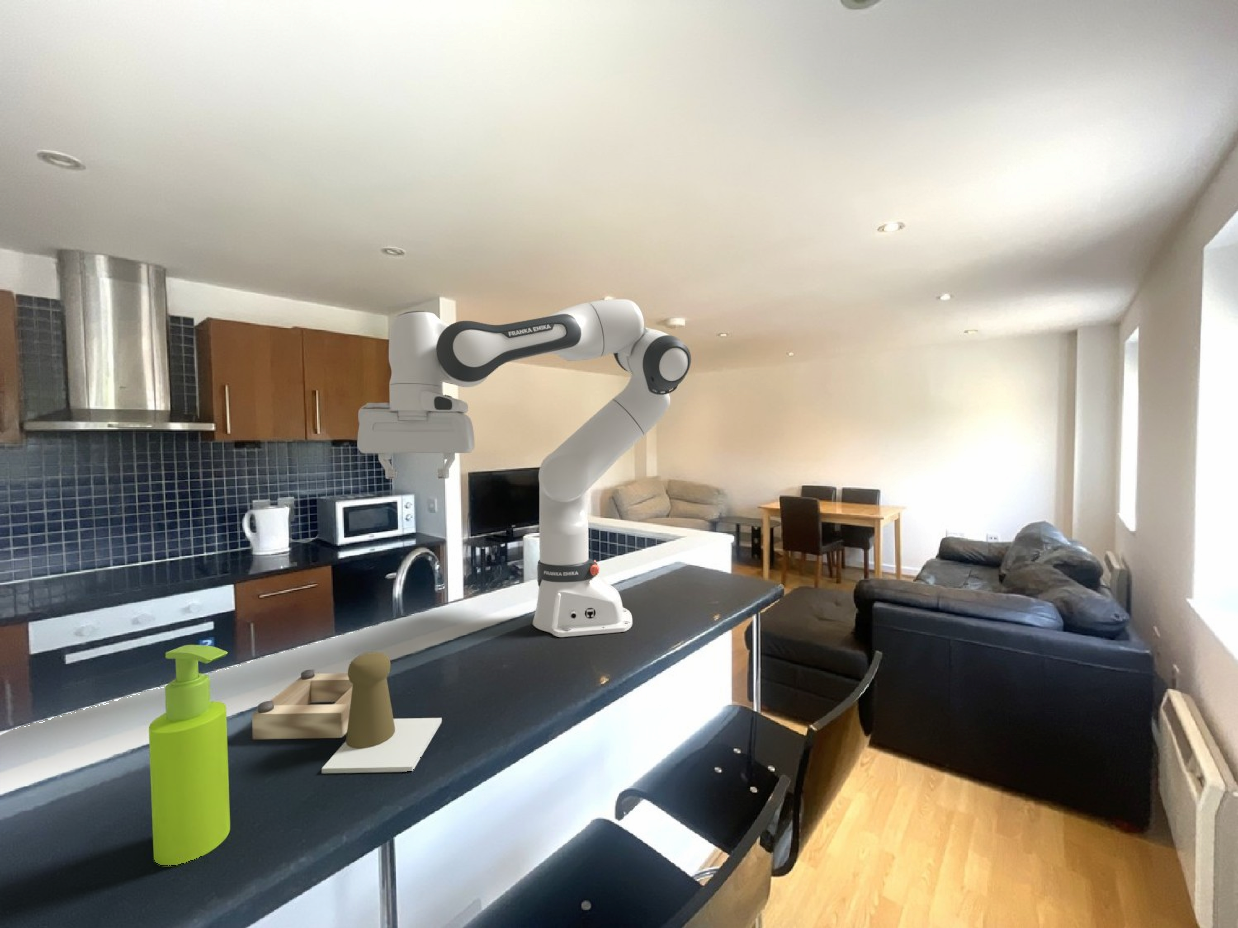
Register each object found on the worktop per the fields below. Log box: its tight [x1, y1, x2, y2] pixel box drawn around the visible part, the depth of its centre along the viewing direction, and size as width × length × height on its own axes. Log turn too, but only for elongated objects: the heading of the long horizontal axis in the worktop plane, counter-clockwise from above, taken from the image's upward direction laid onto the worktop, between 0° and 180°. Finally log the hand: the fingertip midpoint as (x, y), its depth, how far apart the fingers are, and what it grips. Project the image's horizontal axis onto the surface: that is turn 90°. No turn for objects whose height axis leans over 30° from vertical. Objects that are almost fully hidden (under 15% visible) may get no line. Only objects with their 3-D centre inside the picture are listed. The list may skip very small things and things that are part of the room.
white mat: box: [321, 717, 443, 774], centre depth 67 cm, size 11×11×1 cm
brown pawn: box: [345, 651, 395, 749], centre depth 68 cm, size 6×6×11 cm
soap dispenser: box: [148, 644, 231, 867], centre depth 50 cm, size 6×7×20 cm
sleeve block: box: [251, 669, 353, 740], centre depth 74 cm, size 12×12×4 cm
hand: (417, 478), depth 91 cm, fingers open, 8 cm apart
